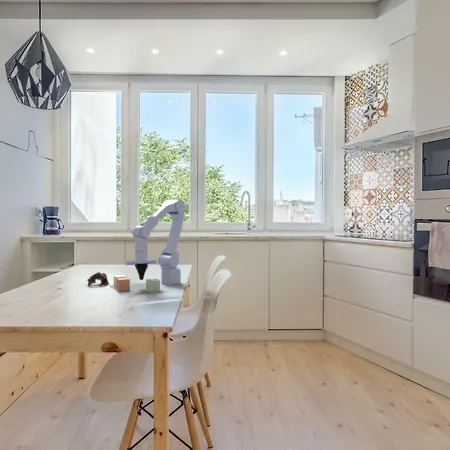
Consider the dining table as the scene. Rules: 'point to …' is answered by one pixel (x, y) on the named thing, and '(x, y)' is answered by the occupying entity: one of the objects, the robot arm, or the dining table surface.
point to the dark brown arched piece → (98, 278)
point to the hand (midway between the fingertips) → (141, 279)
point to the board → (134, 289)
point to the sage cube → (152, 285)
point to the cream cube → (116, 279)
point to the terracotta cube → (123, 284)
